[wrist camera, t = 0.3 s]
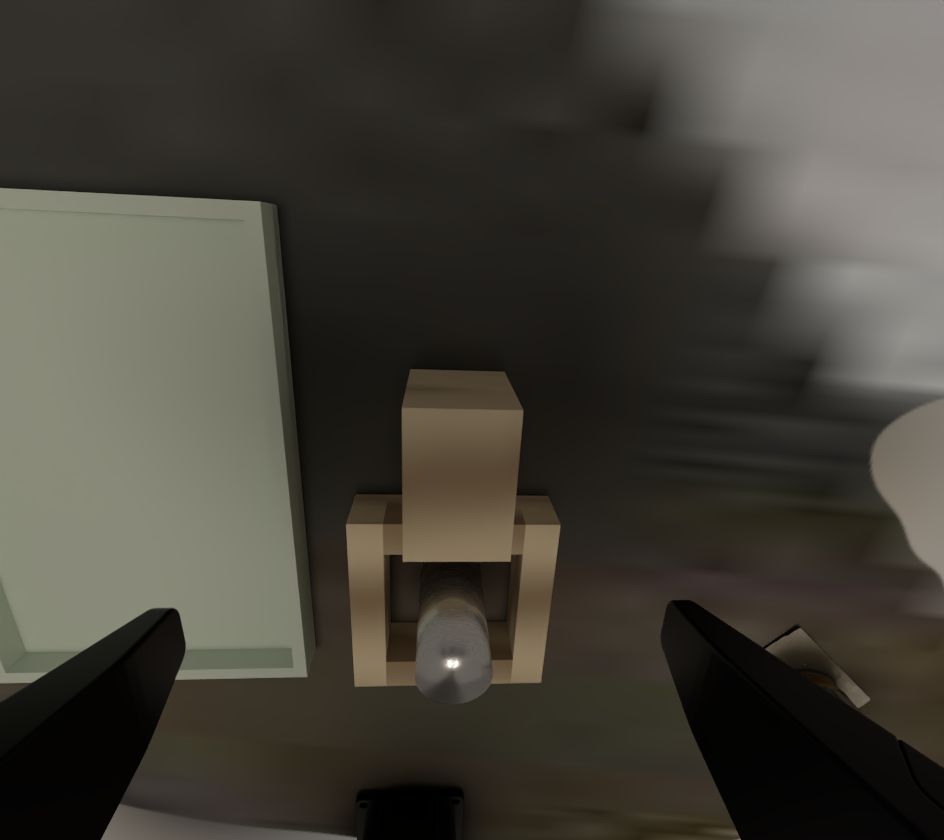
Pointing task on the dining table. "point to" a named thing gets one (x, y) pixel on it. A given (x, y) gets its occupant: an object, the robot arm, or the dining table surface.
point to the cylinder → (452, 633)
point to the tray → (148, 433)
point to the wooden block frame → (453, 525)
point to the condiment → (817, 667)
